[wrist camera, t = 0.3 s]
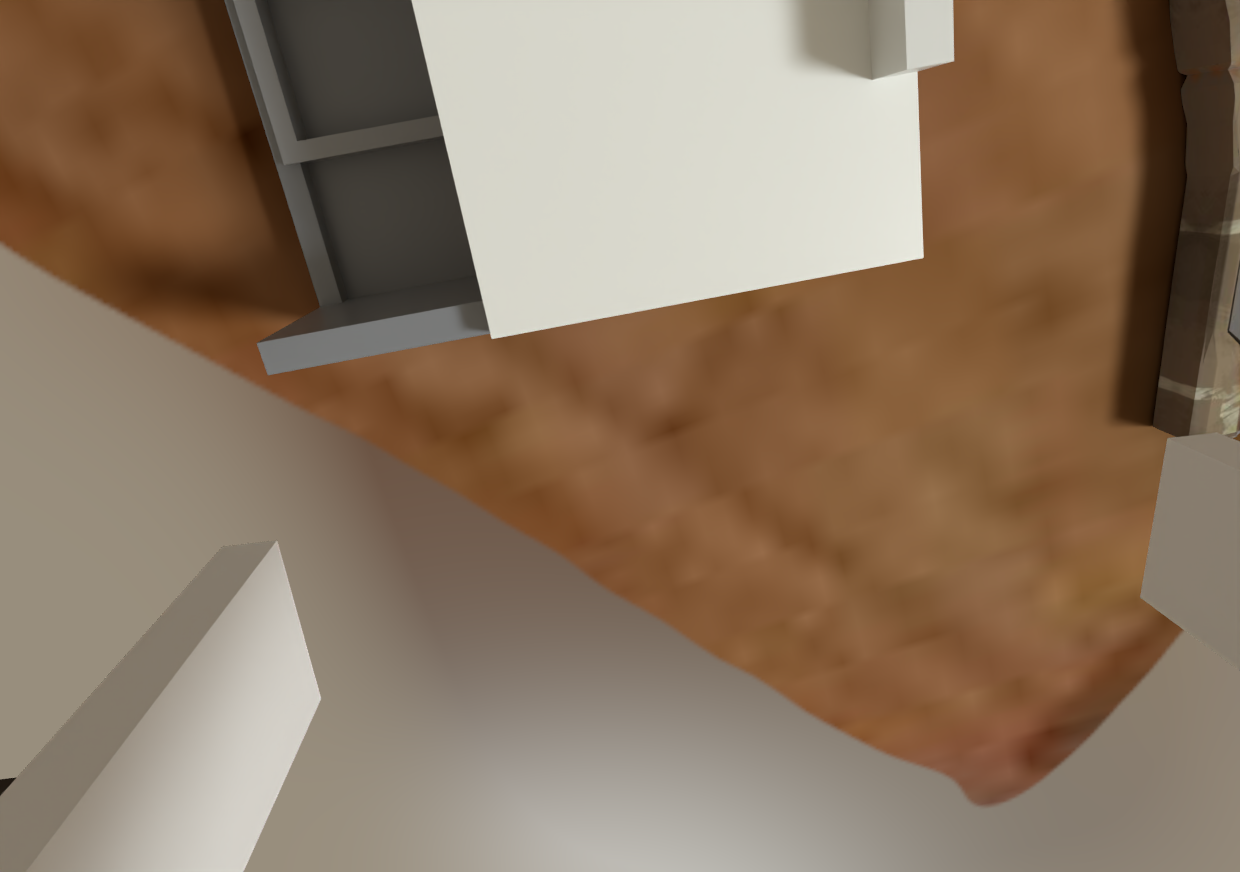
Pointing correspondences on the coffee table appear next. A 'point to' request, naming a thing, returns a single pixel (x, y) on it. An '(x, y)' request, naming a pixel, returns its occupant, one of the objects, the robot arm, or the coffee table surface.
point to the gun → (1206, 230)
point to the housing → (360, 178)
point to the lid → (678, 145)
